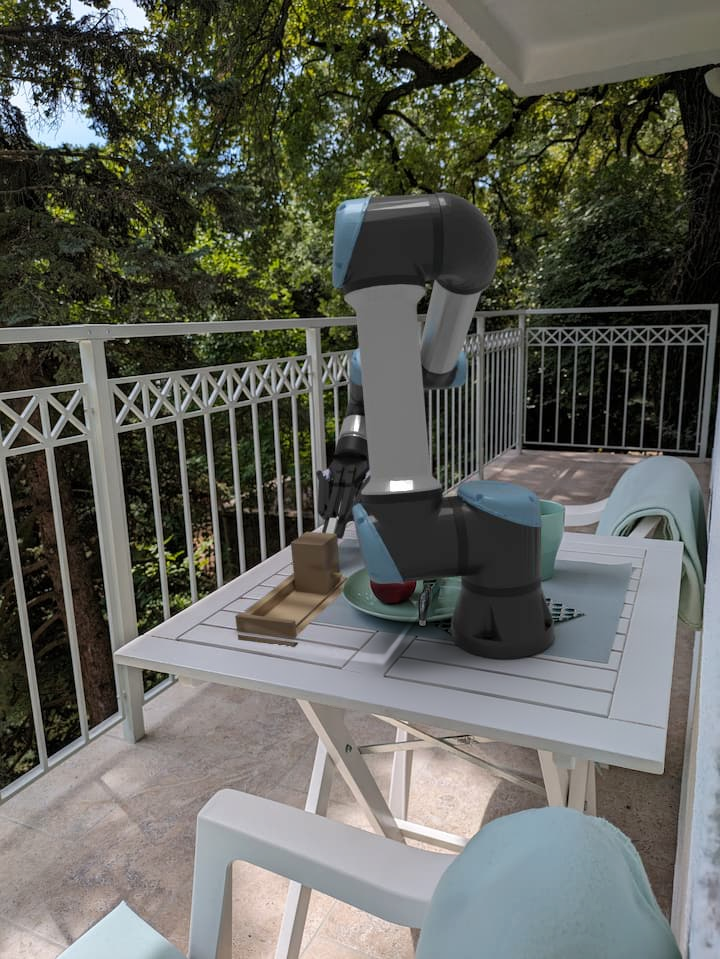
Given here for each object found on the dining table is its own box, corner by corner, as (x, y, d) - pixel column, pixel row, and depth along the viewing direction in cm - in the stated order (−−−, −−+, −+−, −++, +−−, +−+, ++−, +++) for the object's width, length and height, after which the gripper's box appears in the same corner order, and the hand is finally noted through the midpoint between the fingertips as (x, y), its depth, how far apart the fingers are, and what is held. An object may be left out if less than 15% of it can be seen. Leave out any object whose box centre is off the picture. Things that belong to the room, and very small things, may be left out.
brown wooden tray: (306, 581, 136) (304, 561, 135) (356, 586, 132) (354, 565, 131) (238, 639, 115) (235, 616, 114) (294, 647, 111) (292, 623, 110)
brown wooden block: (310, 578, 133) (306, 531, 131) (348, 582, 130) (345, 534, 128) (295, 591, 128) (290, 542, 125) (335, 595, 125) (330, 546, 122)
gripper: (393, 454, 144) (367, 564, 134) (333, 453, 150) (303, 558, 139) (381, 433, 138) (353, 546, 128) (319, 433, 143) (287, 541, 133)
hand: (327, 552), depth 133 cm, fingers closed
